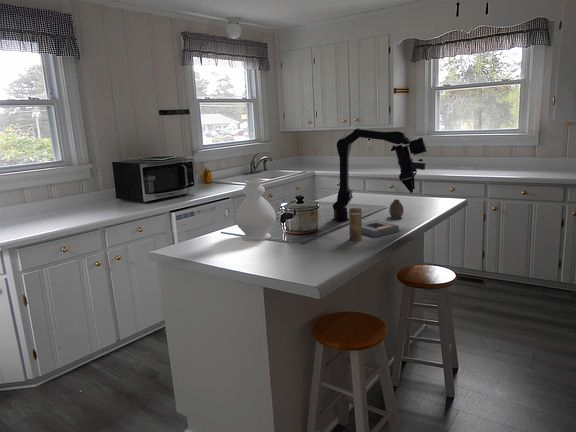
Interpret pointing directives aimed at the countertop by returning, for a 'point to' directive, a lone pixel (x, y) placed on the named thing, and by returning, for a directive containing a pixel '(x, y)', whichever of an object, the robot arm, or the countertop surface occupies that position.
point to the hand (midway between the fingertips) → (412, 190)
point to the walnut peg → (355, 224)
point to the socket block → (378, 228)
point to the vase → (396, 209)
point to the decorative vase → (255, 213)
